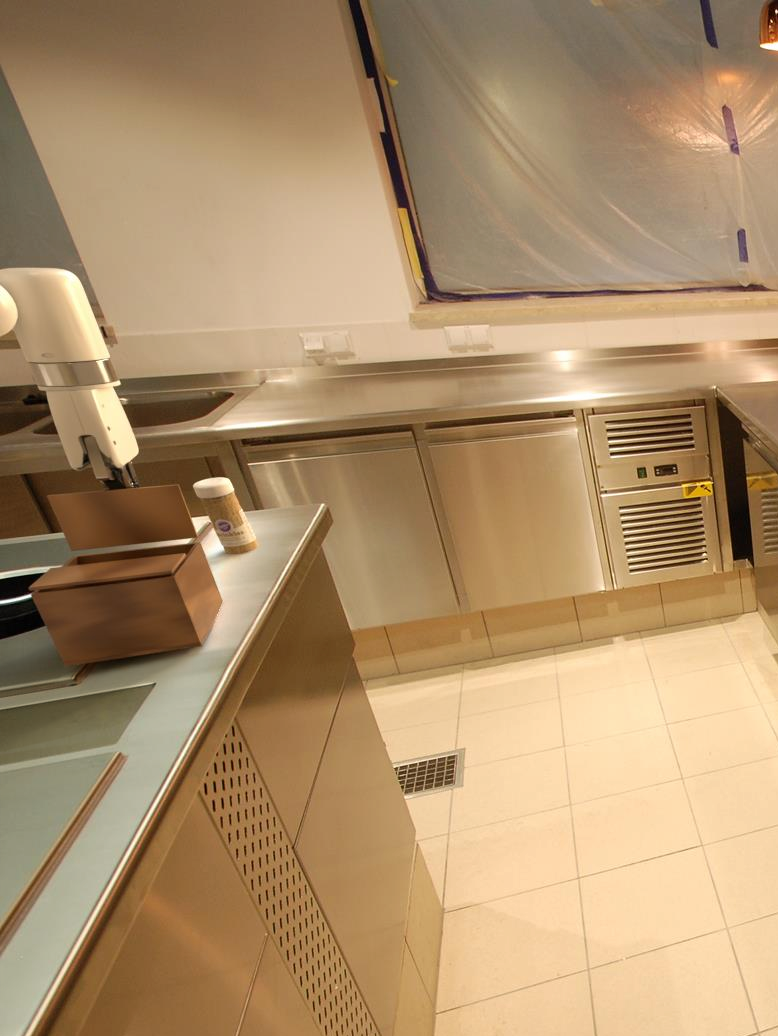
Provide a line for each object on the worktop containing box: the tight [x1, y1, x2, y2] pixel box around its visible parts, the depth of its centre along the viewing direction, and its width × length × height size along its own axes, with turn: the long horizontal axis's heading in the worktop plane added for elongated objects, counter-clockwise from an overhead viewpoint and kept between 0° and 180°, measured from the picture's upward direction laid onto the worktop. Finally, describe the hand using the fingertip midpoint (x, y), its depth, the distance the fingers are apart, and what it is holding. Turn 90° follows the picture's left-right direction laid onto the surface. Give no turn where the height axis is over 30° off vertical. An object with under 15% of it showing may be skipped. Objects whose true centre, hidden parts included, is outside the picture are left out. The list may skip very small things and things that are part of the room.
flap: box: [46, 484, 199, 552], centre depth 111 cm, size 13×7×1 cm
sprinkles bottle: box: [192, 476, 260, 555], centre depth 132 cm, size 5×5×14 cm
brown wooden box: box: [28, 541, 224, 667], centre depth 108 cm, size 13×15×10 cm
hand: (133, 515), depth 113 cm, fingers closed
